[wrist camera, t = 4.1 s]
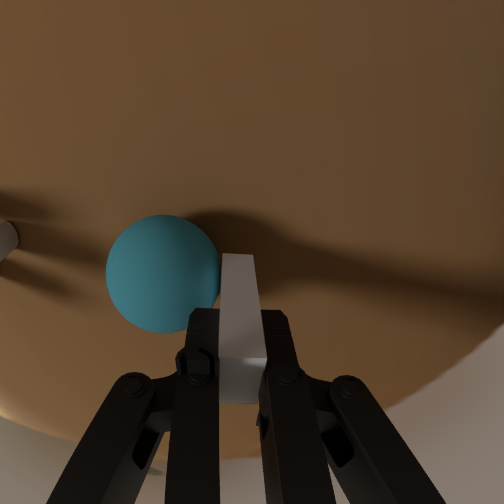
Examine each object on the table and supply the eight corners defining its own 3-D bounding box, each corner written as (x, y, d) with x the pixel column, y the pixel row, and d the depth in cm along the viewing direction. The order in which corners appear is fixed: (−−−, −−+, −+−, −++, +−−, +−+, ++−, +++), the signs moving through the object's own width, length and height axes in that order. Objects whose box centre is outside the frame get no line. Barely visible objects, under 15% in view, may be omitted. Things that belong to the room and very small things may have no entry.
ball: (258, 238, 15) (197, 301, 10) (218, 311, 18) (165, 375, 13) (167, 182, 15) (85, 216, 10) (146, 260, 19) (82, 306, 14)
